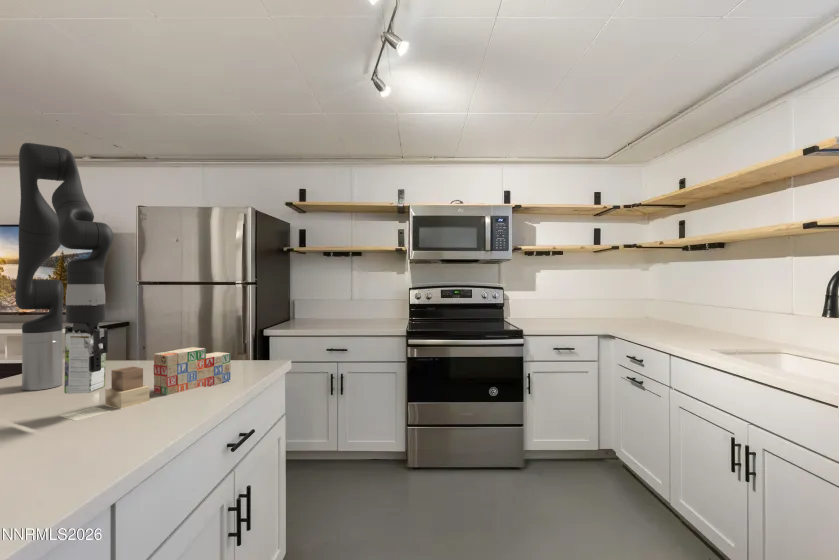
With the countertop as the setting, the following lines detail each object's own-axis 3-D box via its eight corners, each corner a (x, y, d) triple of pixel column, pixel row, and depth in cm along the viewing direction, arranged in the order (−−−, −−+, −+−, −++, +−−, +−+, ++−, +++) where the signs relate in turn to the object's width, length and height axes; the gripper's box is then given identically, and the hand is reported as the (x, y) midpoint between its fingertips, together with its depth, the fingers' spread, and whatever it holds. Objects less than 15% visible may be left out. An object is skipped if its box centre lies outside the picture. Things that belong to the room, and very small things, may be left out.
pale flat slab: (44, 414, 101) (44, 411, 101) (120, 396, 117) (120, 394, 117) (78, 424, 95) (78, 421, 95) (153, 403, 110) (153, 401, 110)
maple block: (105, 404, 107) (105, 389, 107) (133, 397, 113) (133, 383, 113) (121, 408, 104) (121, 392, 104) (149, 401, 110) (149, 386, 110)
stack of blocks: (217, 379, 138) (217, 342, 138) (230, 381, 135) (231, 344, 135) (153, 395, 119) (153, 353, 119) (167, 398, 116) (167, 354, 116)
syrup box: (81, 387, 103) (81, 329, 103) (106, 387, 103) (106, 329, 103) (63, 394, 97) (63, 333, 97) (90, 393, 98) (90, 332, 98)
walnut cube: (111, 389, 108) (111, 370, 108) (131, 384, 112) (131, 366, 112) (122, 391, 105) (123, 372, 105) (143, 386, 110) (143, 368, 110)
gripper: (51, 302, 100) (51, 369, 100) (84, 304, 94) (84, 376, 94) (87, 301, 107) (87, 364, 107) (120, 302, 100) (119, 369, 100)
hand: (85, 369), depth 100 cm, fingers closed on syrup box, 7 cm apart
